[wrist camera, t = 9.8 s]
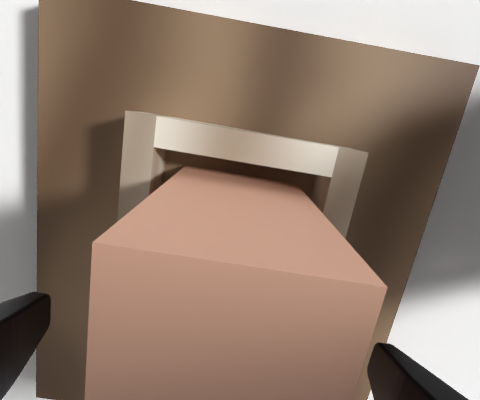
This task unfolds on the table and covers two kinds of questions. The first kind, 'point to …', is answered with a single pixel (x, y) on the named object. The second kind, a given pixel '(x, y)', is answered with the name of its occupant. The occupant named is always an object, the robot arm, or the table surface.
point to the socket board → (226, 140)
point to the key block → (227, 296)
